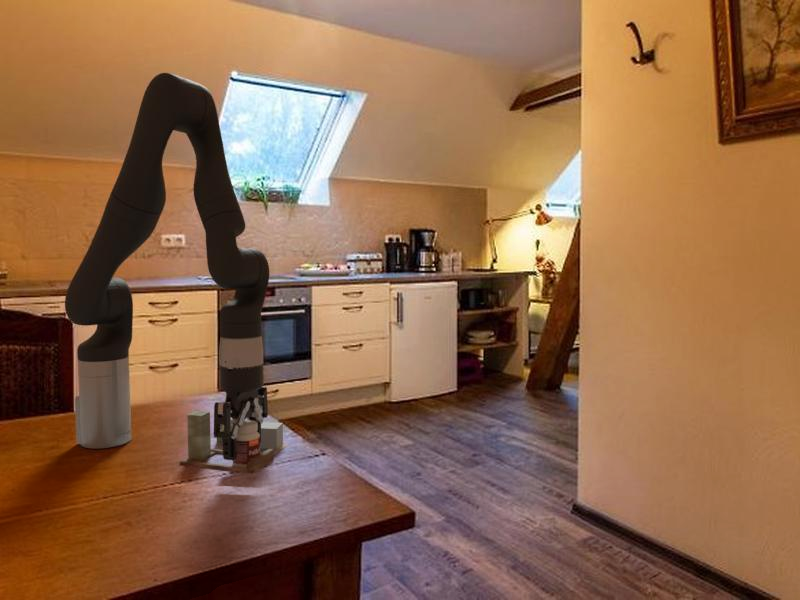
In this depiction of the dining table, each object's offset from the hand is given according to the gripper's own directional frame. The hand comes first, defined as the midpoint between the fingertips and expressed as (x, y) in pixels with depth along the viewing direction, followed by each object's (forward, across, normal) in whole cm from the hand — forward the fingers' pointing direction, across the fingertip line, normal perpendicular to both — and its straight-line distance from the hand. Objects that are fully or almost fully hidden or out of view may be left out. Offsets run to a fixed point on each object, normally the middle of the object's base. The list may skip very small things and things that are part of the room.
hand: (242, 451), depth 108 cm
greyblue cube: (+2, -10, 0) cm, 10 cm away
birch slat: (+3, -10, -4) cm, 11 cm away
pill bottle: (+3, 0, +1) cm, 3 cm away
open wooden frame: (+3, 0, -3) cm, 4 cm away
